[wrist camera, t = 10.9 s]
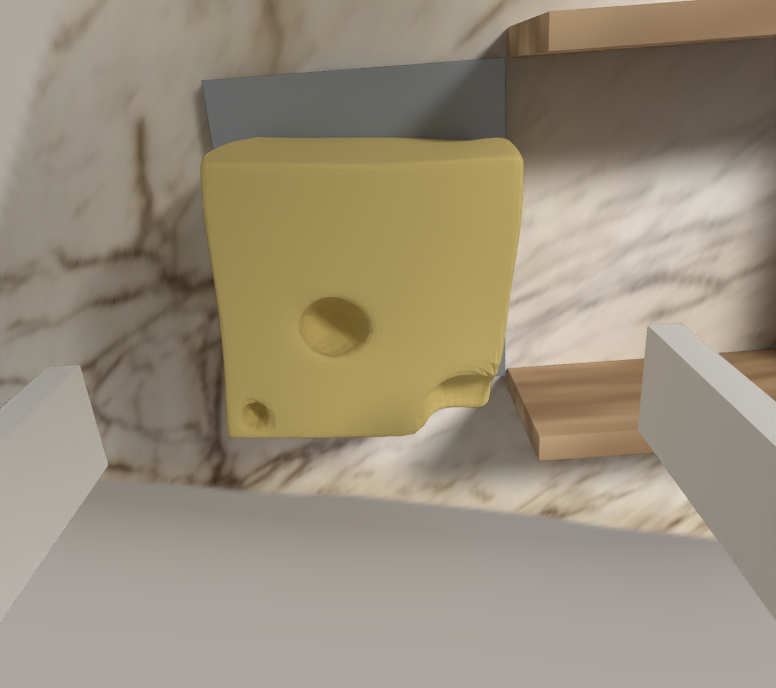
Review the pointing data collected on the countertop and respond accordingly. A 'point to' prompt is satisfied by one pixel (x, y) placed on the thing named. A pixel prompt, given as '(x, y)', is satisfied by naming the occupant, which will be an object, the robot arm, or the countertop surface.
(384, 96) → the slate pad
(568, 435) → the open wooden frame
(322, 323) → the cheese
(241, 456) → the countertop surface
